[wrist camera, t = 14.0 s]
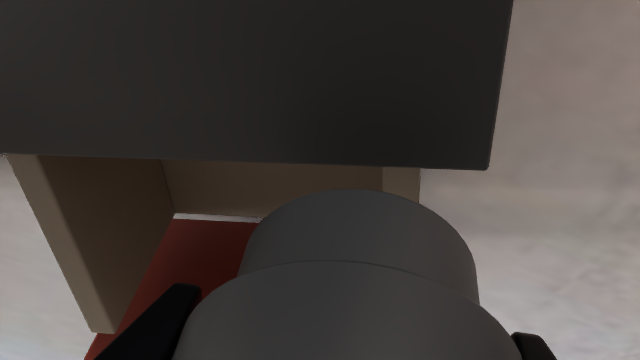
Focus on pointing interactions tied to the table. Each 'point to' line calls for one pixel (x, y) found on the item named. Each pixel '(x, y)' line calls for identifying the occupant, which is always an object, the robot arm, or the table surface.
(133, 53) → the dark matchbox-style case
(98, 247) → the filter drawer
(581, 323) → the table surface
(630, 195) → the table surface
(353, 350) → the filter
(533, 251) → the table surface
